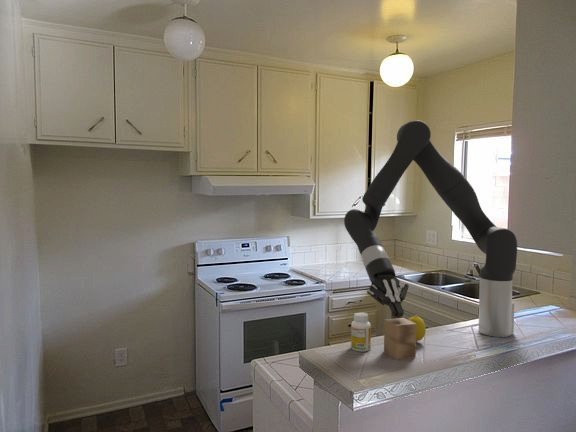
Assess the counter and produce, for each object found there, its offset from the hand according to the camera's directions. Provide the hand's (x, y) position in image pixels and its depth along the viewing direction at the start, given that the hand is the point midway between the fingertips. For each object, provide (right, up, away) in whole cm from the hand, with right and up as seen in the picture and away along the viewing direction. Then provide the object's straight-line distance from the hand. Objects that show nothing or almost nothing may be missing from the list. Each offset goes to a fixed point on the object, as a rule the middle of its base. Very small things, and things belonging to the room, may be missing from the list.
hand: (399, 316), depth 115 cm
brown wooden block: (0, -10, +1) cm, 10 cm away
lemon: (+7, -10, +10) cm, 16 cm away
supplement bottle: (-10, -10, +5) cm, 15 cm away
